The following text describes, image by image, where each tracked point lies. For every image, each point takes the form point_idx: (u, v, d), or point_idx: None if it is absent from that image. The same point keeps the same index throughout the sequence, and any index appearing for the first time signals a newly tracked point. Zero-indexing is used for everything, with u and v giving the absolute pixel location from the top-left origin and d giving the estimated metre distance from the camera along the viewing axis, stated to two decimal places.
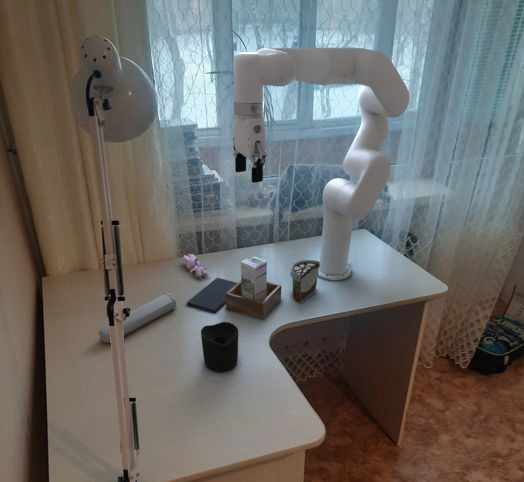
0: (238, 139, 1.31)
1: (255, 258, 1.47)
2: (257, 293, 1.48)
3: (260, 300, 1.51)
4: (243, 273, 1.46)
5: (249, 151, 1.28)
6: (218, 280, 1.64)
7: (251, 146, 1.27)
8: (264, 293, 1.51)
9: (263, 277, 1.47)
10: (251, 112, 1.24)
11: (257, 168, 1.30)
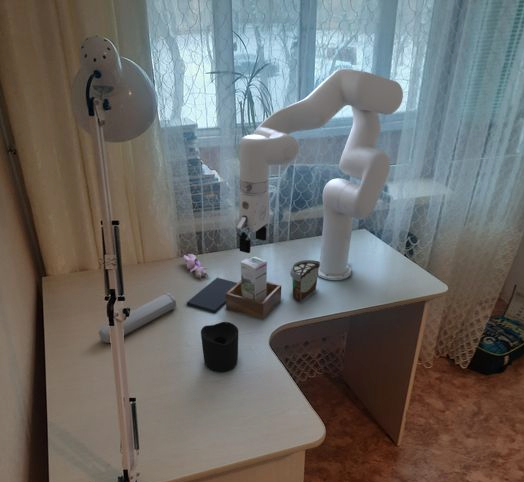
0: None
1: (255, 258, 1.47)
2: (257, 293, 1.48)
3: (260, 300, 1.51)
4: (243, 273, 1.46)
5: None
6: (218, 280, 1.64)
7: (239, 218, 1.34)
8: (264, 293, 1.51)
9: (263, 277, 1.47)
10: None
11: (241, 239, 1.36)
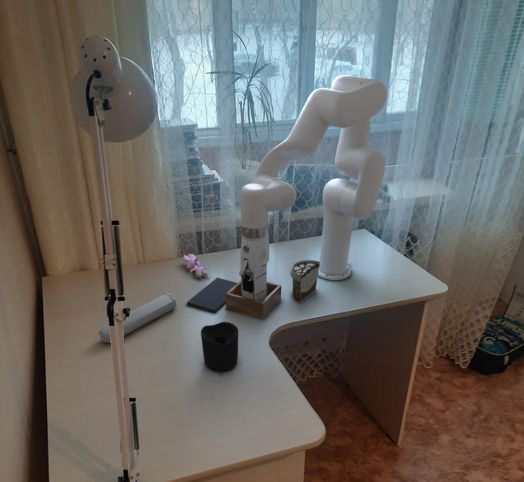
0: None
1: None
2: (257, 293, 1.48)
3: (260, 300, 1.51)
4: None
5: None
6: (218, 280, 1.64)
7: (240, 260, 1.41)
8: (264, 293, 1.51)
9: (263, 277, 1.47)
10: None
11: (245, 280, 1.45)
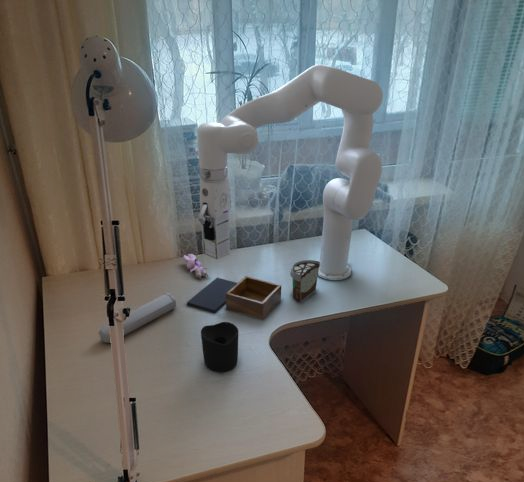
0: None
1: None
2: (219, 242, 1.43)
3: (223, 250, 1.46)
4: None
5: None
6: (218, 280, 1.64)
7: (200, 205, 1.36)
8: (227, 243, 1.46)
9: (225, 225, 1.42)
10: None
11: (205, 227, 1.40)
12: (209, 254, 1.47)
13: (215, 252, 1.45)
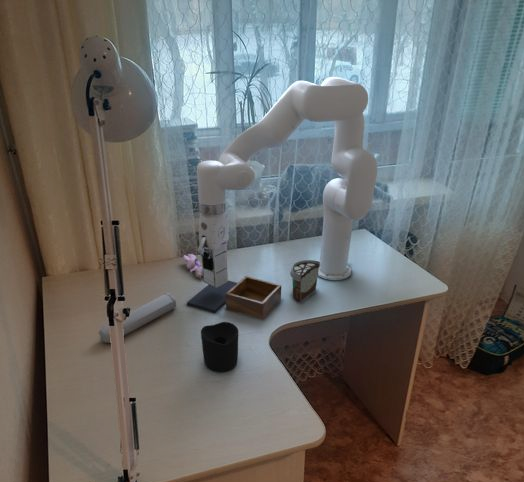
0: None
1: None
2: (217, 271, 1.49)
3: (221, 278, 1.52)
4: None
5: None
6: None
7: (199, 238, 1.42)
8: (225, 272, 1.52)
9: (223, 255, 1.48)
10: None
11: (204, 258, 1.46)
12: (208, 282, 1.53)
13: (213, 281, 1.51)
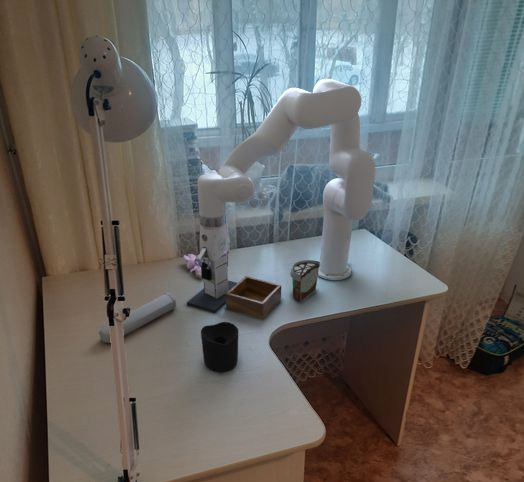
0: None
1: None
2: (218, 283, 1.52)
3: (222, 289, 1.54)
4: None
5: None
6: None
7: (200, 249, 1.45)
8: (226, 283, 1.55)
9: (224, 267, 1.51)
10: None
11: (203, 268, 1.47)
12: (209, 293, 1.55)
13: (214, 292, 1.53)
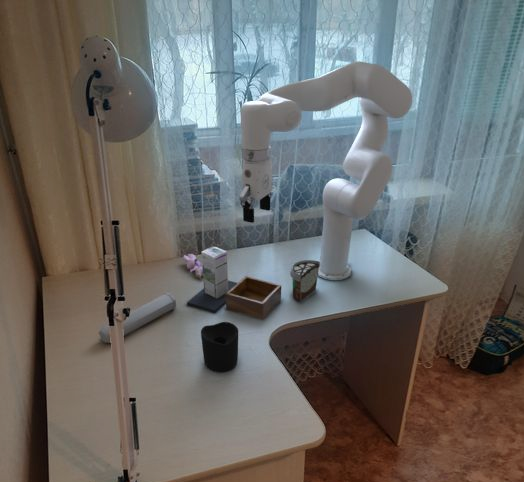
0: None
1: (216, 248, 1.50)
2: (218, 283, 1.52)
3: (222, 289, 1.54)
4: (204, 263, 1.50)
5: None
6: None
7: (242, 187, 1.33)
8: (226, 283, 1.55)
9: (224, 267, 1.51)
10: None
11: (245, 209, 1.36)
12: (209, 293, 1.55)
13: (214, 292, 1.53)
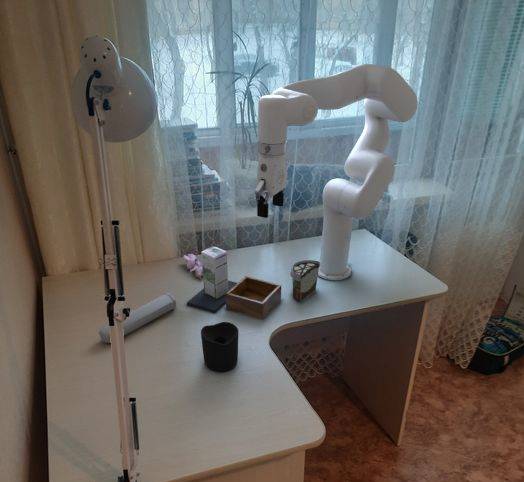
0: None
1: (216, 248, 1.50)
2: (218, 283, 1.52)
3: (222, 289, 1.54)
4: (204, 263, 1.50)
5: None
6: None
7: (257, 182, 1.32)
8: (226, 283, 1.55)
9: (224, 267, 1.51)
10: None
11: (259, 204, 1.34)
12: (209, 293, 1.55)
13: (214, 292, 1.53)
